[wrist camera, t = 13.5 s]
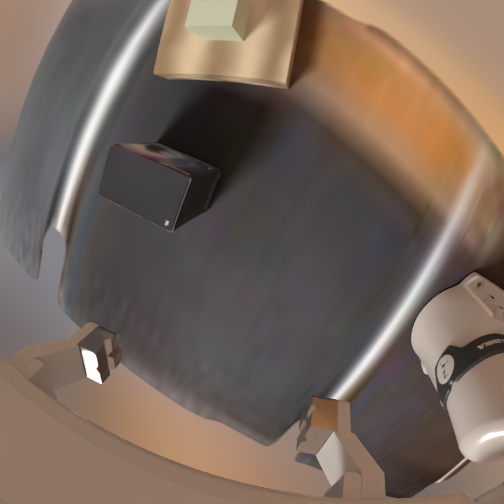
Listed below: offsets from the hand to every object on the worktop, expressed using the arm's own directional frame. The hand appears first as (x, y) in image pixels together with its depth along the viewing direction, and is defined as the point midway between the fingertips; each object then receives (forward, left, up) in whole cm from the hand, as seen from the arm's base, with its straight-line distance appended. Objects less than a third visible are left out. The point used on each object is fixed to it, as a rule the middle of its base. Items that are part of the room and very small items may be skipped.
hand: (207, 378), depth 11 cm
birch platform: (+10, -22, -28) cm, 37 cm away
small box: (+14, -2, -29) cm, 32 cm away
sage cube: (+10, -22, -24) cm, 34 cm away
